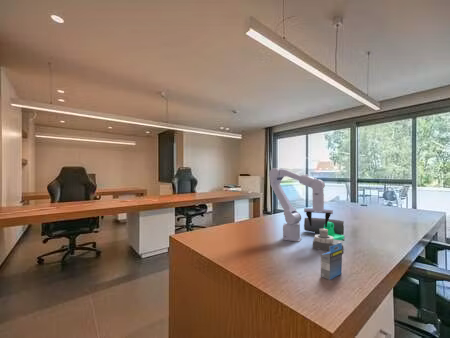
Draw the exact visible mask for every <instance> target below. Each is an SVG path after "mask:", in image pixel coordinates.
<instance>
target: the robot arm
mask: <svg viewBox="0 0 450 338" xmlns="http://www.w3.org/2000/svg"><path fill="white" fill-rule="evenodd" d="M268 176H269V181H270V183H269V184H270V187H271V188H272V191H273V192H274V194H275V196H276V199H277V200H278V201H279V203H280V206H281V207H282V209H283V215H284V219H285V220H284V221H285V222H286V223H283V225H282V240H284V241H291V242H301V240H302V237H301V232H300V231H301V223H300V222H301V220H302V215H301V213H300V212H298V211H297V209H296V208H294V206H292V204H291V202H290V200H289V198H288V197H287V194H286V193H285V191H284V189H283V187H282V186H281V182H282V181H283V179H284V177H288V178H291V179H293V180H296V181H298V182H299V184H301V185H303V186H305V187H308V188H311V189H312V208H306V207H305V208H304V209H303V212H304V213H306V214H305V215H306V218H308V219H309V222H310V226H312V218H313V217H312V215H313V214H324V217H325V218H324V219H325V227H327V222H328V219H330V218H331V215H333V214H334V210H333V209H326V208H325V204H324V203H325V198H324V197H325V194H324V189H325V187H326V185H325V181H323V180H322V179H320V178H319V179H317V177H312V176H309V174H308V173H305V174H301V175H300V174H298V173H296V172H294V171H292V170H290V169H289V170H288V169H285V168H281V167H277V168H276V167H273V168H271V169H270V170H269V173H268ZM312 213H313V214H312Z"/></svg>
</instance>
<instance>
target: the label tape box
mask: <svg viewBox="0 0 450 338" xmlns="http://www.w3.org/2000/svg"><path fill="white" fill-rule="evenodd" d="M336 247H338V249H336V250H334V248H336ZM329 248H330V251H327V252H324V253H322V254H321V255H320V277H322V278H324V279H326V280H328V281H331V280H333V279H334V278H336V277H338V276H340V275H342V273H343V272H342V266H343V265H342V264H343V253H342V243H339V244H336V245H333V246H329Z"/></svg>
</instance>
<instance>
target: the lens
mask: <svg viewBox="0 0 450 338" xmlns="http://www.w3.org/2000/svg"><path fill="white" fill-rule="evenodd" d="M319 231H320V238H328V229H324V228H320V229H319Z"/></svg>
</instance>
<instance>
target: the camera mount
mask: <svg viewBox="0 0 450 338" xmlns="http://www.w3.org/2000/svg"><path fill="white" fill-rule="evenodd" d="M324 229H328V235H329V236H332V237H333V239H334V240H342V241H343V240H344V239H345V235H340V234H336V233H335V232H334V223H332V222H327V227H325V225H324Z"/></svg>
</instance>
